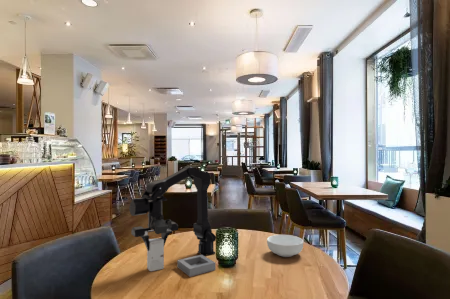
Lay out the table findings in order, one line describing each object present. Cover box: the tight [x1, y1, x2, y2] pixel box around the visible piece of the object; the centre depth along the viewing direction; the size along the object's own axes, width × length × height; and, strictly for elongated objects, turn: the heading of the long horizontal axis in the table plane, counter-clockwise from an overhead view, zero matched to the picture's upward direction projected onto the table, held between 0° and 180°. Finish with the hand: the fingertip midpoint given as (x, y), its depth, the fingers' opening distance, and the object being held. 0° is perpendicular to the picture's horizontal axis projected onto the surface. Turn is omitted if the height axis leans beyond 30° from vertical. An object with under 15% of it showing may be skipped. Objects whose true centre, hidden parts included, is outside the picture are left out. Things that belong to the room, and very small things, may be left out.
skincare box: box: [146, 237, 165, 272], centre depth 121 cm, size 6×4×12 cm
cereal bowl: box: [266, 234, 304, 258], centre depth 137 cm, size 17×17×7 cm
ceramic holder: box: [176, 254, 217, 278], centre depth 121 cm, size 12×12×3 cm
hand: (155, 249), depth 121 cm, fingers closed on skincare box, 6 cm apart
